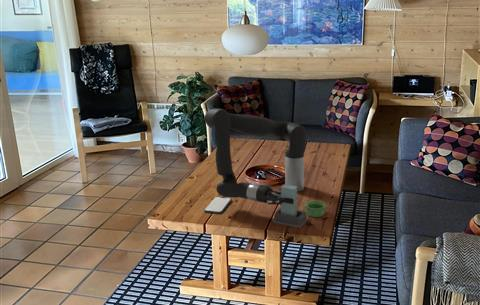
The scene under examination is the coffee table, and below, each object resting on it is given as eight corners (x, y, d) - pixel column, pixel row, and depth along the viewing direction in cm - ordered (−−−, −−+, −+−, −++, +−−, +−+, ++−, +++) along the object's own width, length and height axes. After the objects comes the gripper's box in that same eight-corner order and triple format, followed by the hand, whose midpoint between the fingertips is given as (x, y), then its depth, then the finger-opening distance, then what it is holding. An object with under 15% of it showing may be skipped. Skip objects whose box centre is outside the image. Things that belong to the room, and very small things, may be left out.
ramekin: (301, 214, 231) (301, 205, 230) (312, 207, 237) (312, 198, 236) (318, 219, 225) (318, 210, 224) (329, 212, 232) (329, 203, 230)
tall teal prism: (284, 211, 227) (284, 184, 223) (296, 214, 224) (297, 186, 220) (280, 215, 224) (280, 187, 220) (293, 217, 221) (293, 189, 217)
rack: (280, 214, 231) (280, 206, 230) (308, 219, 225) (308, 211, 224) (272, 222, 224) (272, 213, 223) (300, 228, 218) (300, 219, 217)
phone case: (221, 215, 234) (232, 201, 248) (221, 212, 233) (232, 197, 248) (203, 213, 236) (215, 199, 251) (203, 210, 236) (215, 196, 250)
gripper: (251, 190, 221) (288, 197, 213) (266, 179, 233) (301, 185, 225) (251, 206, 224) (288, 214, 215) (266, 195, 235) (301, 201, 227)
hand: (295, 199), depth 220 cm, fingers closed on tall teal prism, 3 cm apart
